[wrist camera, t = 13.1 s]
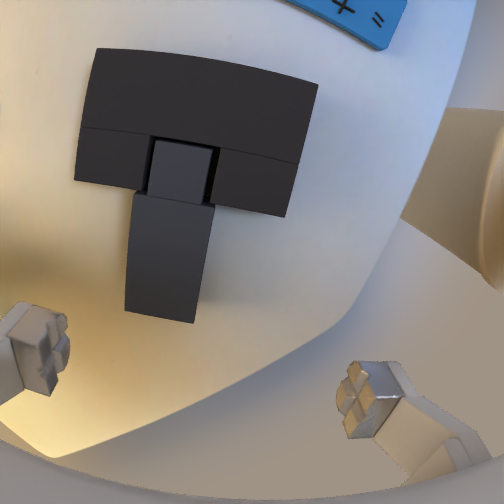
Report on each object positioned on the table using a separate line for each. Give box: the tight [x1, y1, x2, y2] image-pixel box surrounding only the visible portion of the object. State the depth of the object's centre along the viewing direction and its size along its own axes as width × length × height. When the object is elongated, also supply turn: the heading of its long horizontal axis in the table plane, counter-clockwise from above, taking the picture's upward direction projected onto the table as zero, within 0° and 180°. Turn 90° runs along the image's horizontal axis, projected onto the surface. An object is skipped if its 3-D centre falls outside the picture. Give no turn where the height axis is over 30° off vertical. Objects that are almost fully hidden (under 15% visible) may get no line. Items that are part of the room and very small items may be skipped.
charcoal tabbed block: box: [124, 138, 215, 324], centre depth 25 cm, size 6×14×4 cm, turn 167°
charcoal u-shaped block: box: [74, 48, 319, 218], centre depth 22 cm, size 16×10×4 cm, turn 77°
